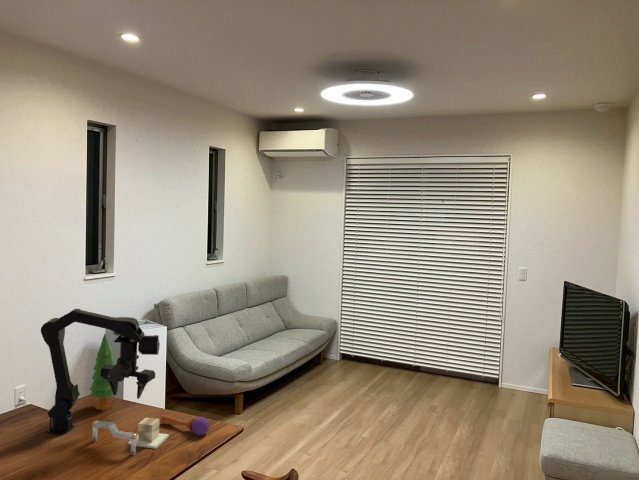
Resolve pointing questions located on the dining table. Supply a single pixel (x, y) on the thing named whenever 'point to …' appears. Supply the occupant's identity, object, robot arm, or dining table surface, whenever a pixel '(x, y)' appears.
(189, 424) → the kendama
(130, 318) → the robot arm
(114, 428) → the steel handle
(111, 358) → the decorative tree
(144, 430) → the birch block
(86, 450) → the dining table surface
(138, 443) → the sage pad
